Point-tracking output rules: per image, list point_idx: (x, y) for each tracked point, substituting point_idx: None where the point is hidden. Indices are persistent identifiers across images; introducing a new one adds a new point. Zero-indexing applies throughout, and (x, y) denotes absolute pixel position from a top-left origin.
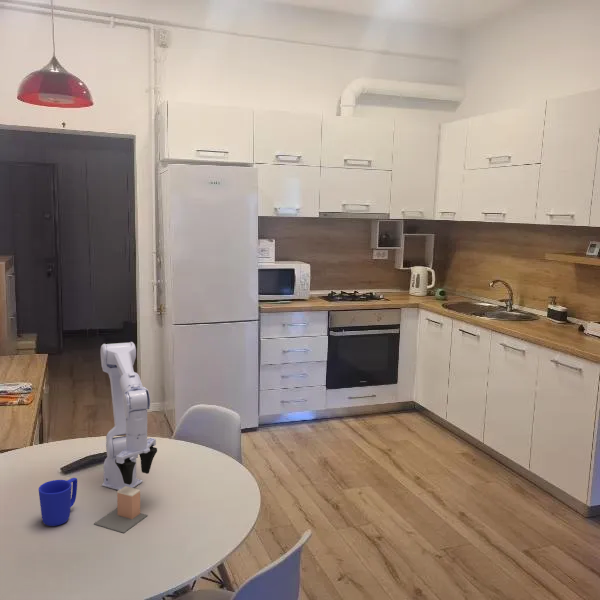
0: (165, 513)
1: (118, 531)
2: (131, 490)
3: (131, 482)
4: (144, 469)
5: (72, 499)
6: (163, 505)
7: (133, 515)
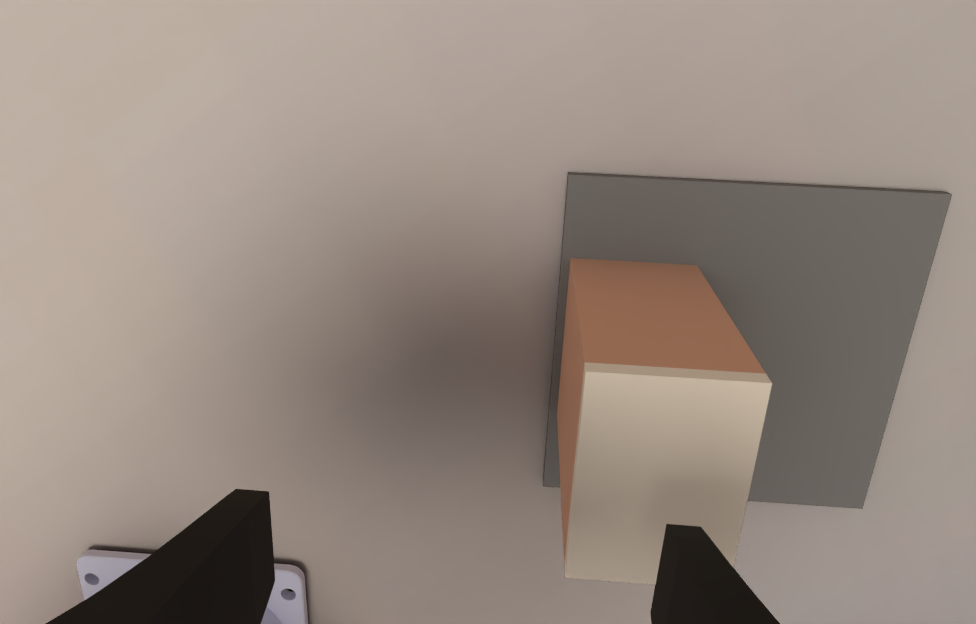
0: (445, 28)
1: (932, 253)
2: (646, 460)
3: (679, 535)
4: (250, 584)
5: None
6: (317, 147)
7: (680, 273)
